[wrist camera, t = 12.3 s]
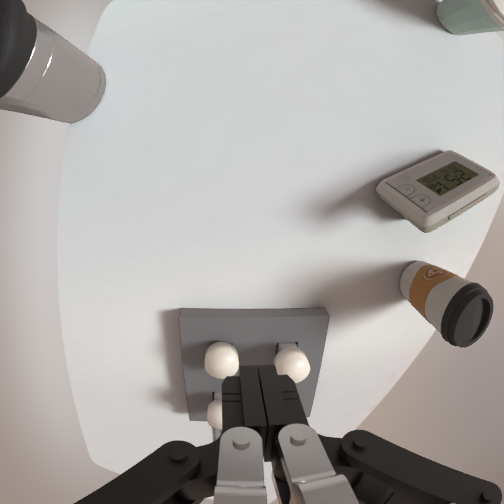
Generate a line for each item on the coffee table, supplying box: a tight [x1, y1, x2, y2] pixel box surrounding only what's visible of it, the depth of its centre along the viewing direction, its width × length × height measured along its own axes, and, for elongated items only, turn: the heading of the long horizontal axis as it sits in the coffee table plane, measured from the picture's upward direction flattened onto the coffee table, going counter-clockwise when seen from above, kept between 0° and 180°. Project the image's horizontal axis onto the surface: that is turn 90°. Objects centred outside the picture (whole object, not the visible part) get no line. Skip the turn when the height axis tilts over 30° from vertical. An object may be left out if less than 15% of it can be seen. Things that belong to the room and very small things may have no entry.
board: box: [179, 308, 330, 421], centre depth 42 cm, size 20×20×2 cm
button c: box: [274, 342, 310, 383], centre depth 38 cm, size 4×4×5 cm
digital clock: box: [376, 150, 500, 233], centre depth 33 cm, size 16×9×11 cm, turn 103°
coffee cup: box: [400, 261, 493, 347], centre depth 35 cm, size 8×8×15 cm
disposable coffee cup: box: [436, 0, 504, 35], centre depth 23 cm, size 11×11×15 cm
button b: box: [207, 392, 222, 430], centre depth 40 cm, size 4×4×5 cm
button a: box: [205, 342, 239, 379], centre depth 39 cm, size 4×4×5 cm
